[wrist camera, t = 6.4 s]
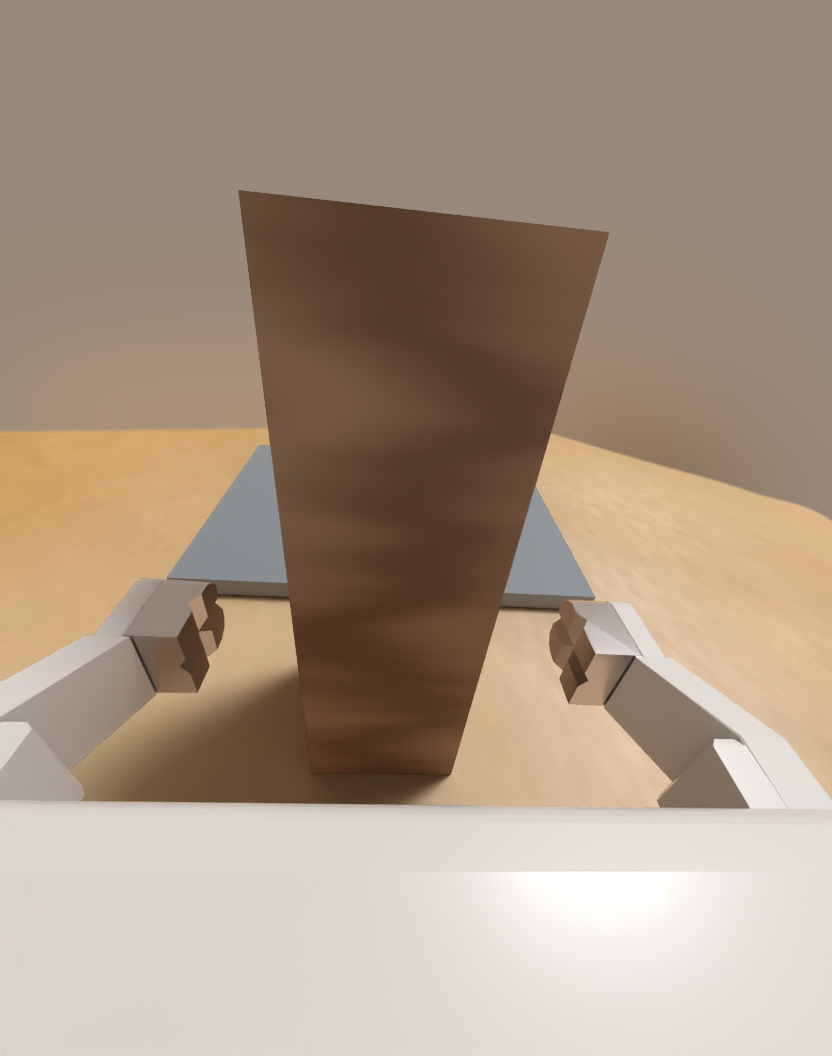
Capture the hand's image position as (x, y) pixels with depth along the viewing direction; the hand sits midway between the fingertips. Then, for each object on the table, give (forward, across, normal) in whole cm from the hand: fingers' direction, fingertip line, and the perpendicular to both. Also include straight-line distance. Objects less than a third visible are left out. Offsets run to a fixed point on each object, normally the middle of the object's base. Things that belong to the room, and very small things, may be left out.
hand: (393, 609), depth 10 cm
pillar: (+2, 0, +8) cm, 9 cm away
